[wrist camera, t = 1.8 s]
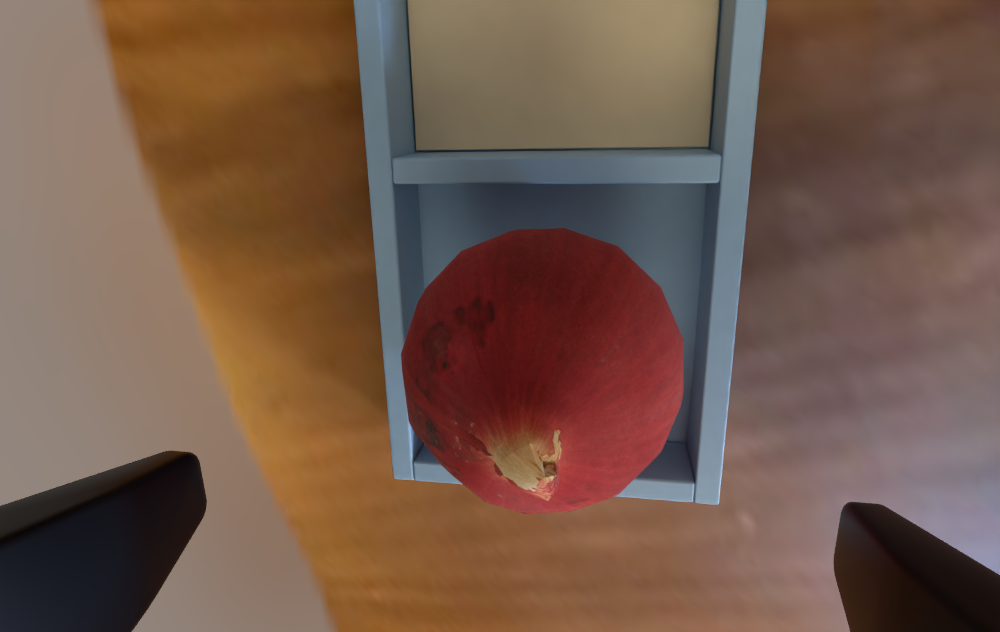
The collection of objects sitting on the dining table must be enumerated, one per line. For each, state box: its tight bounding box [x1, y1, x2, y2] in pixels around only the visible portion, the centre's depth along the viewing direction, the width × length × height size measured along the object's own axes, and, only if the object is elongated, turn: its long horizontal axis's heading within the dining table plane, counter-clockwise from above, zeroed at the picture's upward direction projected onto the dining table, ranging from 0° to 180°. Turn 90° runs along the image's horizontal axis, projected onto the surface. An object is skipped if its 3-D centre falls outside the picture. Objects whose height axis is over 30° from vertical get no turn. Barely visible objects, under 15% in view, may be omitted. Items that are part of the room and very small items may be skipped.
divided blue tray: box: [354, 0, 767, 505], centre depth 15 cm, size 8×16×2 cm, turn 1°
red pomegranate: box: [401, 228, 684, 513], centre depth 13 cm, size 6×6×8 cm
